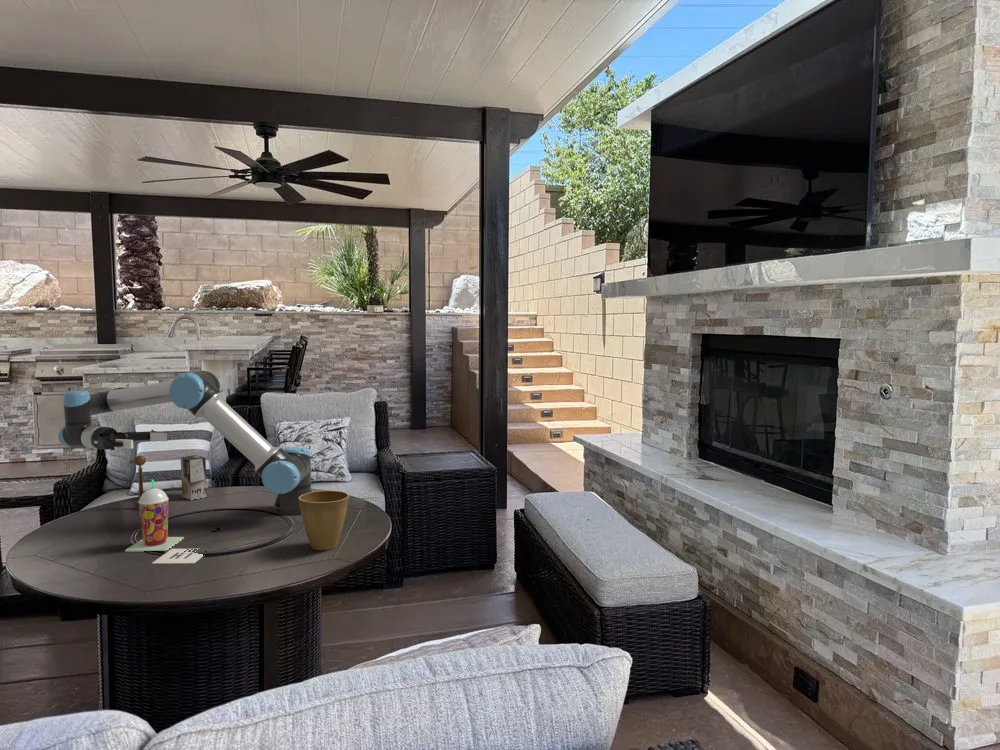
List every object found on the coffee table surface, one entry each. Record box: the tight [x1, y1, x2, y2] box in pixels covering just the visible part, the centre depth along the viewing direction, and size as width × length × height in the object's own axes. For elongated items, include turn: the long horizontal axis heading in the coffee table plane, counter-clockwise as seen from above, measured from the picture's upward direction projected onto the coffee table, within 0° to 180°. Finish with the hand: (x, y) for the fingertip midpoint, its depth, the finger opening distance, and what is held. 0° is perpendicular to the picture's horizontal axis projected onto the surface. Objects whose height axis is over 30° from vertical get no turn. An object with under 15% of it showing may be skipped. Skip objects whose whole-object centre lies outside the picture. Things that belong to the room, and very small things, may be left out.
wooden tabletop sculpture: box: [128, 455, 147, 511], centre depth 244 cm, size 6×5×20 cm
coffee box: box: [180, 454, 208, 501], centre depth 260 cm, size 9×6×16 cm
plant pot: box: [299, 490, 350, 551], centre depth 203 cm, size 15×15×16 cm
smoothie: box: [137, 479, 170, 546], centre depth 204 cm, size 8×8×20 cm
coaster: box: [124, 536, 185, 553], centre depth 204 cm, size 12×12×1 cm
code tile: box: [151, 548, 204, 565], centre depth 195 cm, size 12×12×1 cm
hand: (149, 440), depth 215 cm, fingers open, 13 cm apart
